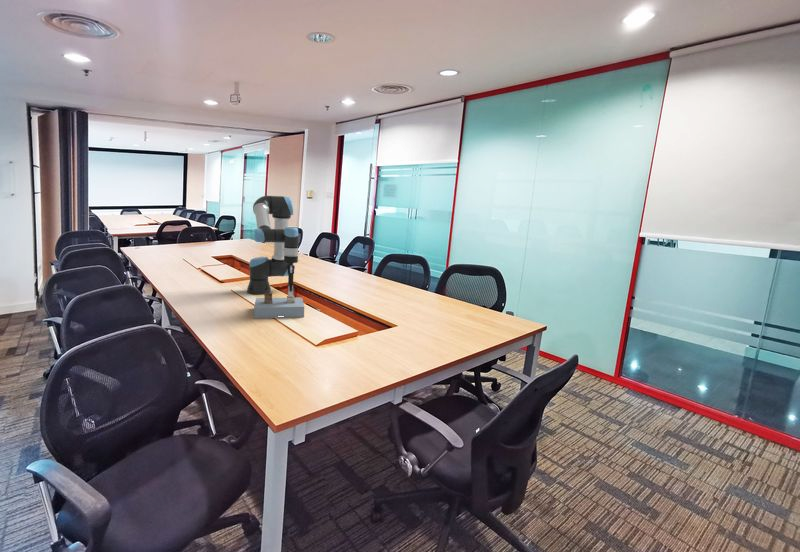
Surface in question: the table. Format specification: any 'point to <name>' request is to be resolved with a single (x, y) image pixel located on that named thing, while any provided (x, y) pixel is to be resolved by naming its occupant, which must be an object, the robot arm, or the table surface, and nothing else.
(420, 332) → the table surface
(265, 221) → the robot arm
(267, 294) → the dark peg
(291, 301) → the pale peg
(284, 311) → the socket block
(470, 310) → the table surface
